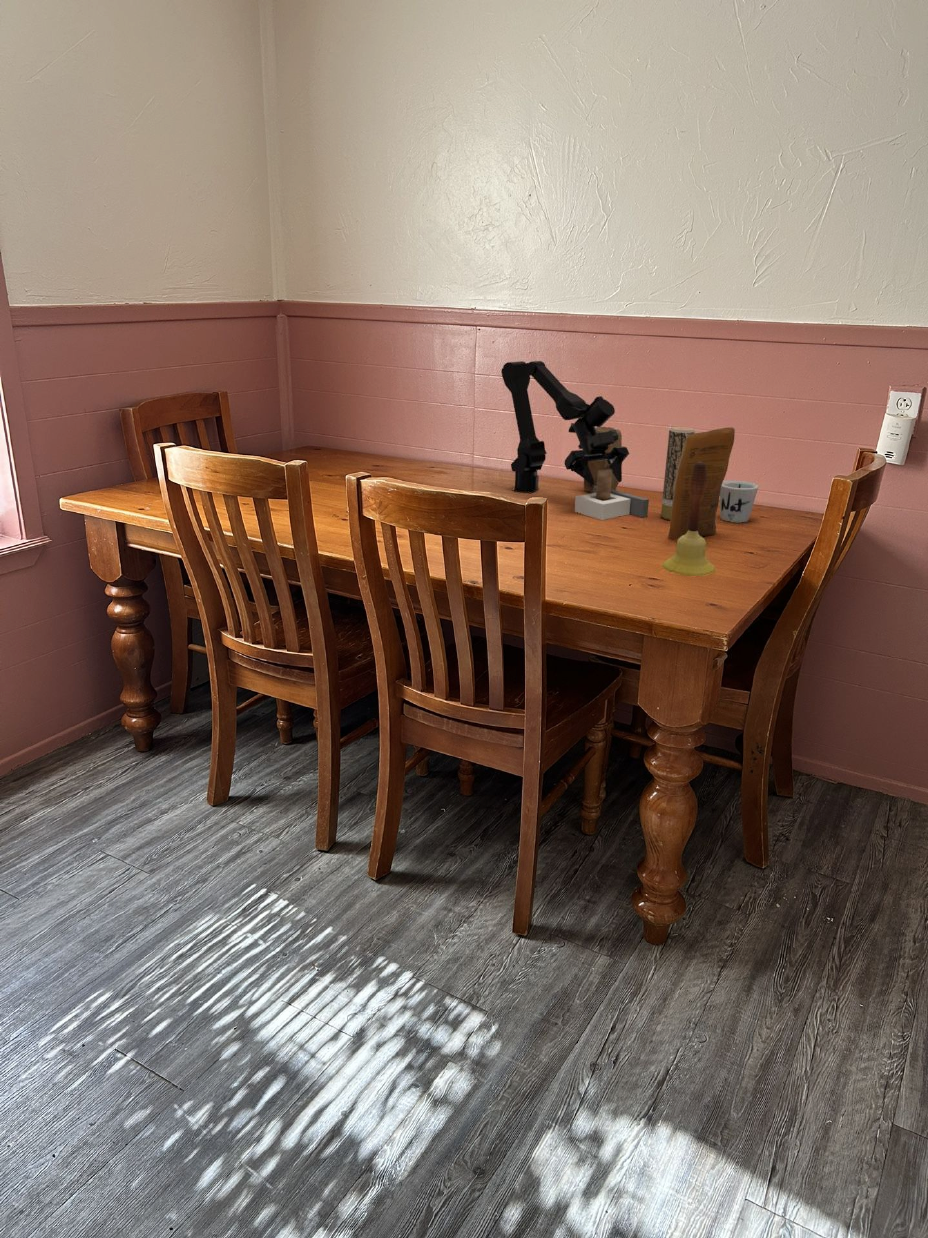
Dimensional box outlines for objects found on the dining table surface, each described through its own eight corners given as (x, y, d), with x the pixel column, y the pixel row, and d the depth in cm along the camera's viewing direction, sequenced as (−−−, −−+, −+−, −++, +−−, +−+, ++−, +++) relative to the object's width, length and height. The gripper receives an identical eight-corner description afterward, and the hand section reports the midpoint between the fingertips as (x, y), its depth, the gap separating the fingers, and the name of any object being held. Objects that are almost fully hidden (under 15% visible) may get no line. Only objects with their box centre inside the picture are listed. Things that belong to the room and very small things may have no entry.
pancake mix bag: (730, 534, 233) (744, 428, 223) (675, 543, 225) (686, 433, 214) (713, 528, 239) (725, 424, 228) (658, 536, 230) (668, 429, 220)
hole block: (574, 511, 253) (575, 496, 251) (601, 506, 259) (602, 491, 257) (602, 520, 245) (603, 504, 243) (629, 514, 251) (630, 498, 249)
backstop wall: (592, 502, 263) (593, 486, 261) (597, 501, 264) (598, 485, 262) (642, 517, 248) (644, 500, 246) (647, 516, 249) (648, 499, 247)
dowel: (593, 513, 251) (596, 470, 246) (597, 510, 254) (600, 467, 250) (606, 515, 250) (610, 471, 245) (610, 512, 253) (613, 469, 248)
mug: (711, 521, 246) (715, 485, 242) (723, 509, 258) (727, 475, 254) (749, 526, 241) (754, 490, 237) (760, 514, 253) (764, 479, 250)
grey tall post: (685, 521, 244) (695, 431, 235) (660, 520, 245) (669, 430, 236) (684, 515, 250) (694, 427, 241) (660, 514, 252) (669, 426, 242)
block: (620, 494, 273) (625, 429, 266) (603, 497, 269) (608, 431, 261) (595, 487, 281) (600, 424, 274) (578, 490, 277) (582, 426, 269)
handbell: (667, 576, 201) (678, 467, 192) (657, 559, 212) (668, 456, 203) (721, 577, 201) (735, 468, 191) (709, 560, 212) (721, 457, 203)
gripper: (572, 421, 242) (591, 469, 237) (628, 417, 249) (648, 464, 244) (555, 445, 251) (574, 491, 246) (610, 440, 259) (629, 485, 254)
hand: (607, 482), depth 247 cm, fingers open, 9 cm apart
